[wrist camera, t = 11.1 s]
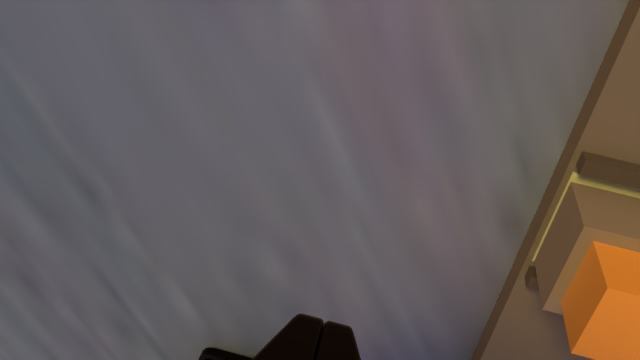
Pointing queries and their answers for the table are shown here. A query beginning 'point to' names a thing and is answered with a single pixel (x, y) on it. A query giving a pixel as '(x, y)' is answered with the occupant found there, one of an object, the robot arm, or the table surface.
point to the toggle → (594, 272)
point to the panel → (574, 166)
